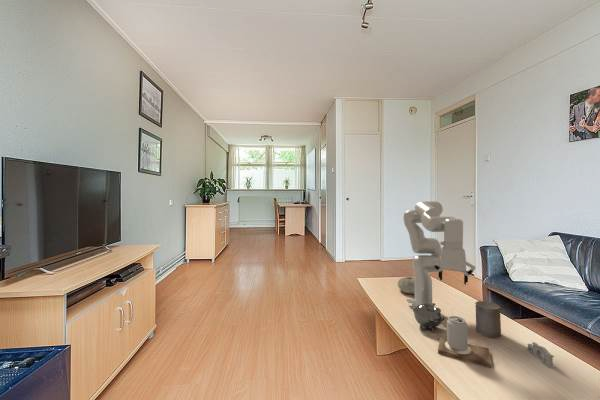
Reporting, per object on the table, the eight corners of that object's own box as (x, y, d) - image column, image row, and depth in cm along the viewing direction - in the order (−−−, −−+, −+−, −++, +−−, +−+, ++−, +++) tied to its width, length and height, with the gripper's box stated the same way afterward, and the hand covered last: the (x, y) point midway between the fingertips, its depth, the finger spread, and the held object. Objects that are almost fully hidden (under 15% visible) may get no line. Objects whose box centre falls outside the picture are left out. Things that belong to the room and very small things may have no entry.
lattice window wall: (526, 350, 108) (526, 336, 108) (531, 350, 108) (531, 337, 108) (549, 368, 97) (548, 353, 97) (554, 369, 96) (554, 353, 96)
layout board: (437, 353, 107) (437, 349, 107) (440, 339, 117) (440, 336, 117) (491, 367, 97) (491, 363, 97) (488, 352, 107) (488, 348, 107)
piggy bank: (448, 334, 122) (448, 310, 122) (415, 331, 125) (415, 308, 125) (440, 323, 133) (439, 301, 133) (409, 321, 136) (409, 299, 136)
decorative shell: (395, 287, 189) (394, 273, 189) (420, 288, 186) (420, 274, 186) (401, 296, 171) (401, 281, 171) (429, 297, 169) (429, 282, 169)
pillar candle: (496, 329, 126) (495, 299, 126) (504, 339, 116) (503, 307, 117) (473, 326, 129) (472, 297, 129) (479, 336, 120) (478, 304, 120)
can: (471, 352, 104) (470, 323, 104) (451, 351, 106) (450, 322, 106) (463, 342, 111) (462, 315, 111) (444, 341, 113) (444, 314, 113)
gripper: (431, 244, 120) (431, 280, 120) (476, 249, 110) (475, 288, 111) (433, 241, 126) (433, 275, 126) (475, 245, 116) (475, 282, 117)
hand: (452, 281), depth 119 cm, fingers open, 9 cm apart
